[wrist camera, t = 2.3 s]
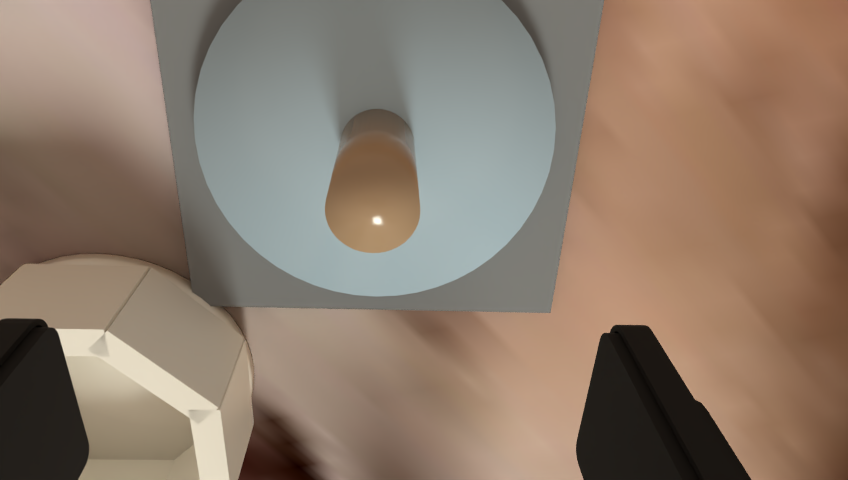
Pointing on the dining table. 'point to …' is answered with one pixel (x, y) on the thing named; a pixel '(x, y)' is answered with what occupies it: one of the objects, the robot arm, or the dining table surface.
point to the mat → (476, 291)
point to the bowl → (143, 366)
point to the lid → (375, 136)
